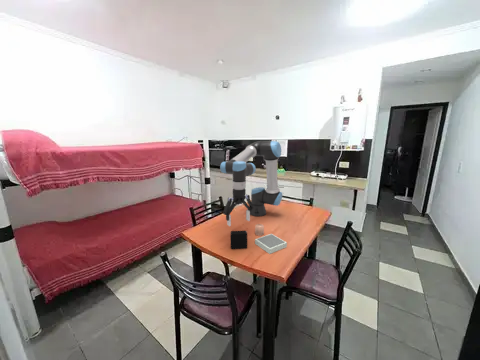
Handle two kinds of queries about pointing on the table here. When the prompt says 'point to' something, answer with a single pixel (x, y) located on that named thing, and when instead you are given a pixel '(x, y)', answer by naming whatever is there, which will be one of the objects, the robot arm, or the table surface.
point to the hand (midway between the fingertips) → (238, 222)
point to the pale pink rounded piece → (259, 229)
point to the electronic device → (238, 239)
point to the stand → (270, 243)
